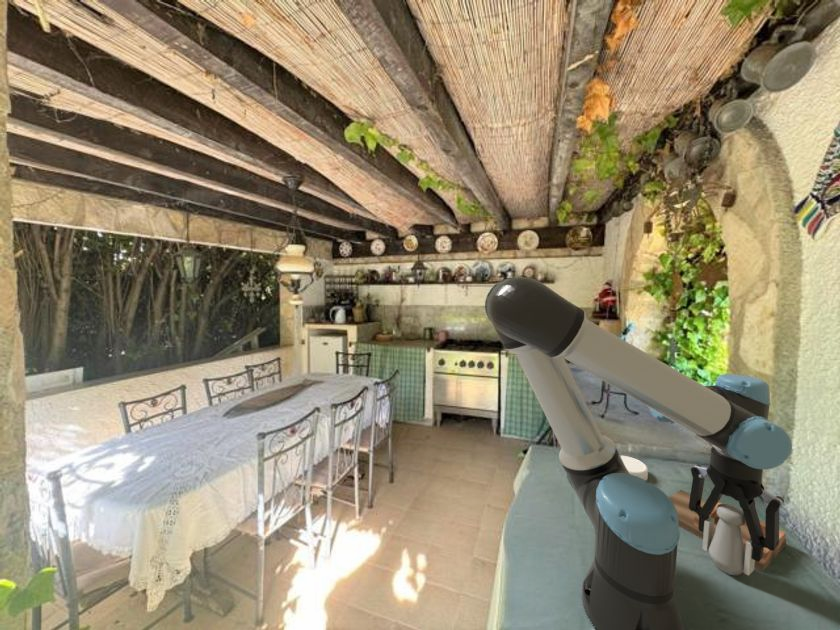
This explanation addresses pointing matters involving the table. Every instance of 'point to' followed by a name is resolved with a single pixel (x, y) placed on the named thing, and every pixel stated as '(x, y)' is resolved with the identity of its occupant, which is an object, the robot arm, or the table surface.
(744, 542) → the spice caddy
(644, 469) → the white round container
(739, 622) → the table surface
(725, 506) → the salt shaker
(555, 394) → the robot arm
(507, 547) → the table surface
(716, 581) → the table surface
